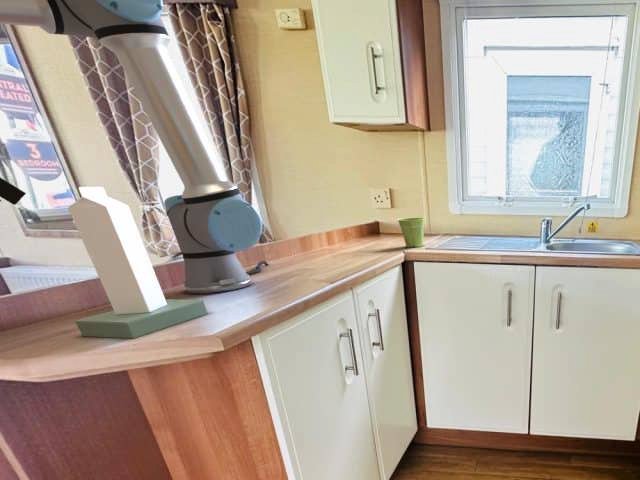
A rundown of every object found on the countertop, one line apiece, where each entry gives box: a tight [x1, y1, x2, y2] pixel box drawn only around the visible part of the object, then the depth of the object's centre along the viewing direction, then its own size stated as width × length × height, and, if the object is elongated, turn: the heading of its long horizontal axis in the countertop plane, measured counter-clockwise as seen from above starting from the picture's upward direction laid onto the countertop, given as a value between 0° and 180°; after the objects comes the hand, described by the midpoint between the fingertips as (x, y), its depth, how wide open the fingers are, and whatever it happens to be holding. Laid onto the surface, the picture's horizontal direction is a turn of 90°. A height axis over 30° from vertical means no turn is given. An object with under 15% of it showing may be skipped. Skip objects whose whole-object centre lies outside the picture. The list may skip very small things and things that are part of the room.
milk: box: [67, 186, 167, 315], centre depth 78 cm, size 6×6×22 cm
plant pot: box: [396, 217, 427, 248], centre depth 180 cm, size 12×12×11 cm
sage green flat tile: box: [74, 298, 208, 339], centre depth 84 cm, size 16×12×3 cm
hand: (8, 203), depth 69 cm, fingers open, 13 cm apart
